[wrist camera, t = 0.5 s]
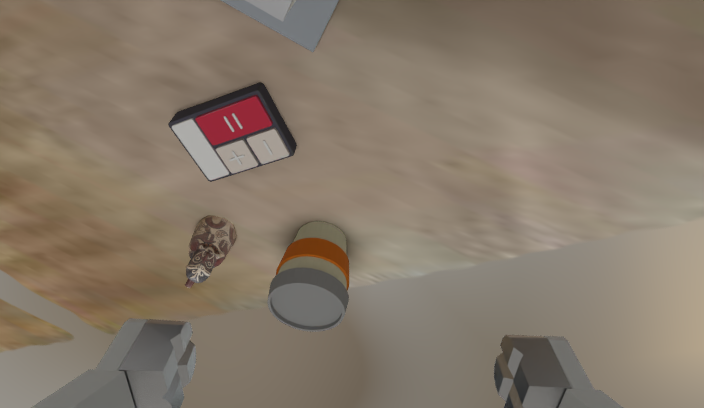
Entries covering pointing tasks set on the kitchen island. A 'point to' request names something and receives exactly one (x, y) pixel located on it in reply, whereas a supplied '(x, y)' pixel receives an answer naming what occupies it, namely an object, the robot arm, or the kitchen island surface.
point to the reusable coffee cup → (312, 279)
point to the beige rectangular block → (274, 7)
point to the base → (294, 19)
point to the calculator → (234, 132)
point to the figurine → (208, 247)
